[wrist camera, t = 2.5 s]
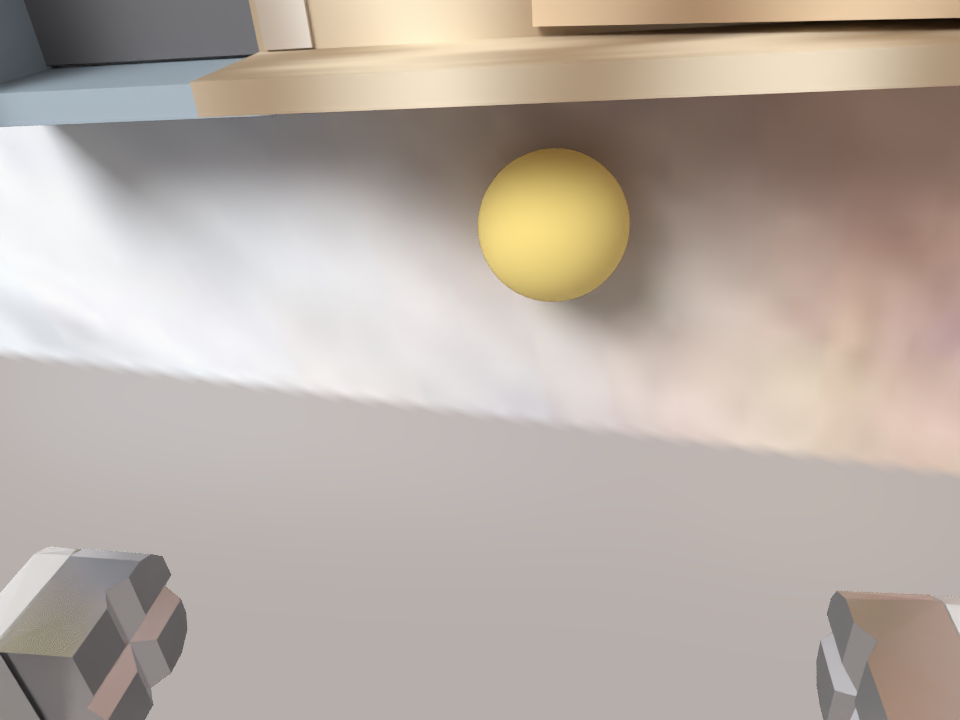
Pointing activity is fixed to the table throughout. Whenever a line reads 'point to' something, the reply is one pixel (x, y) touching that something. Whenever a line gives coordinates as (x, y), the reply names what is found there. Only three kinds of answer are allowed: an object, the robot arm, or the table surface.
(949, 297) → the table surface
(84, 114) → the light blue open bin
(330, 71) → the tan wooden tray
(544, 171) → the ball
